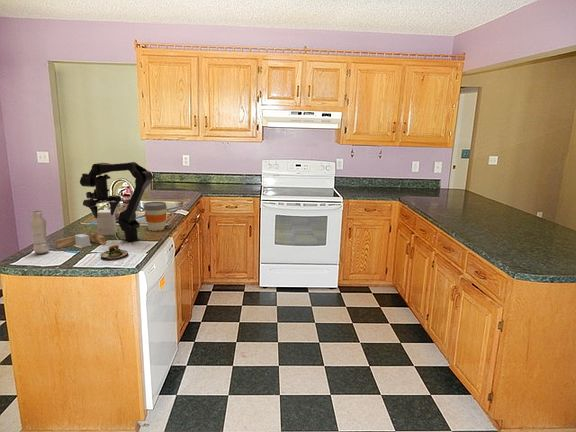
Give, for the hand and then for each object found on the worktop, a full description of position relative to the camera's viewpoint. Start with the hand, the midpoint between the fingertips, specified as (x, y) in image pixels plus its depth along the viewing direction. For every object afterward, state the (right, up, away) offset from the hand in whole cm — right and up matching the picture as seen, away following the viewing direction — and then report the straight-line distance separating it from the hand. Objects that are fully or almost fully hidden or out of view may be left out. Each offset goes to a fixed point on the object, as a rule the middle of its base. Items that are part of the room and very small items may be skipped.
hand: (104, 216), depth 209 cm
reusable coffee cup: (+20, -7, +24) cm, 32 cm away
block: (-6, -14, -10) cm, 18 cm away
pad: (-6, -14, -10) cm, 19 cm away
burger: (+16, -19, -24) cm, 35 cm away
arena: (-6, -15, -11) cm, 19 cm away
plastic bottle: (-19, -17, -22) cm, 34 cm away
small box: (-3, -10, +11) cm, 15 cm away
